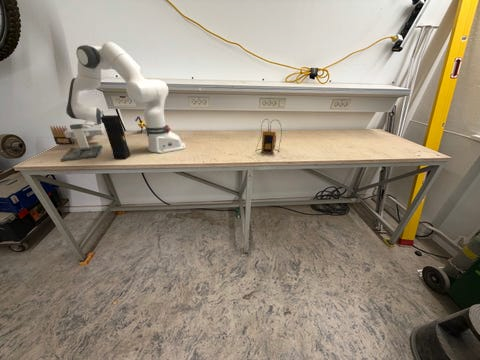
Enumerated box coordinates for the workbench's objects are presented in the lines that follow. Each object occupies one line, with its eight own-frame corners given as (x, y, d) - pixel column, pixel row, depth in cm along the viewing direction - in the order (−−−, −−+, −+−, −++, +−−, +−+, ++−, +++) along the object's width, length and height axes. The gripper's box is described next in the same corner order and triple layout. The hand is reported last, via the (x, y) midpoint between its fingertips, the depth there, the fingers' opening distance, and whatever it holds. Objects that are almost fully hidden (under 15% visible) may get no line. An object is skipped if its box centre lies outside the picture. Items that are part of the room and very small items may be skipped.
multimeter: (279, 148, 126) (283, 116, 117) (279, 154, 118) (283, 120, 108) (257, 146, 129) (259, 115, 119) (255, 152, 120) (256, 118, 111)
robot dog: (135, 135, 147) (130, 117, 140) (147, 129, 162) (143, 113, 156) (142, 136, 146) (138, 117, 140) (153, 130, 162) (150, 113, 156)
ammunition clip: (74, 143, 130) (67, 125, 124) (72, 144, 128) (65, 126, 123) (58, 143, 130) (50, 125, 124) (56, 144, 128) (47, 126, 122)
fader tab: (90, 146, 120) (82, 123, 113) (89, 148, 116) (80, 125, 110) (81, 147, 118) (71, 124, 111) (79, 149, 115) (69, 125, 108)
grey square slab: (102, 147, 124) (102, 145, 123) (96, 157, 109) (95, 155, 109) (72, 150, 119) (71, 148, 118) (61, 161, 104) (60, 159, 103)
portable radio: (133, 155, 113) (120, 110, 101) (128, 159, 108) (114, 112, 96) (119, 155, 113) (105, 110, 101) (113, 159, 108) (98, 112, 96)
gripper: (66, 126, 122) (58, 131, 111) (104, 123, 129) (99, 128, 117) (70, 136, 125) (62, 142, 114) (107, 133, 132) (103, 139, 121)
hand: (82, 135), depth 116 cm, fingers closed
